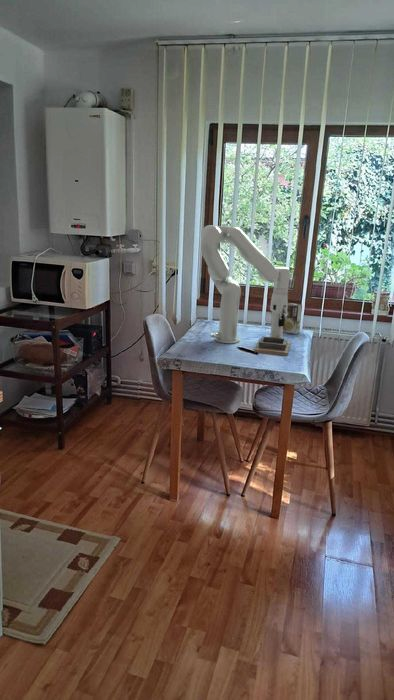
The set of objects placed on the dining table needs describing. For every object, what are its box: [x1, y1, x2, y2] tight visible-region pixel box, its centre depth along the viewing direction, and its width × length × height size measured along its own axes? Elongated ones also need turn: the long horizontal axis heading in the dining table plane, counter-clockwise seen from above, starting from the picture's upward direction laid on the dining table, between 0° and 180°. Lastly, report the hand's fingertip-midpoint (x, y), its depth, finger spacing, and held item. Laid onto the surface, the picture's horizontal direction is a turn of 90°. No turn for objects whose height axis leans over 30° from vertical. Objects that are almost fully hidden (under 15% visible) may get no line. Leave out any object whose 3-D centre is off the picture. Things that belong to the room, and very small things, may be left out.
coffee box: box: [283, 302, 303, 335], centre depth 278 cm, size 9×6×16 cm
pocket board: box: [253, 335, 291, 357], centre depth 244 cm, size 22×16×4 cm
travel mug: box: [269, 305, 284, 338], centre depth 257 cm, size 6×7×20 cm
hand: (277, 324), depth 258 cm, fingers closed on travel mug, 6 cm apart
